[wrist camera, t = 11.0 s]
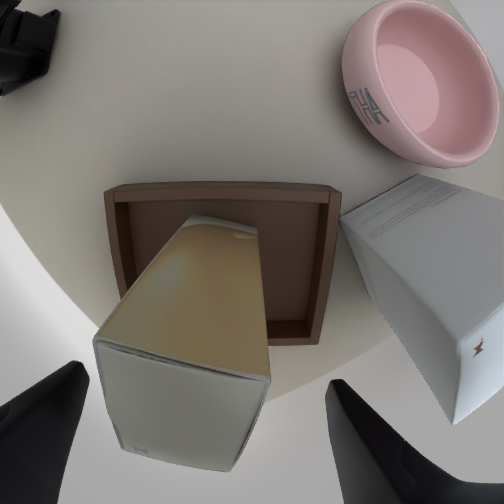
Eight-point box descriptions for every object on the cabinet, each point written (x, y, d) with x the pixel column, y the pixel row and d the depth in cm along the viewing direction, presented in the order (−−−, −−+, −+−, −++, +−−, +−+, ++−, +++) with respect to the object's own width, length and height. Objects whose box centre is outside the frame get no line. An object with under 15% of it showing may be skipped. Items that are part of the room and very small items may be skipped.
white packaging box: (368, 299, 20) (447, 432, 8) (335, 215, 17) (457, 343, 5) (441, 255, 18) (545, 347, 7) (420, 170, 16) (571, 227, 4)
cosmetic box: (239, 309, 19) (231, 477, 8) (178, 296, 19) (120, 454, 7) (260, 221, 17) (281, 383, 5) (190, 207, 16) (84, 339, 5)
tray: (140, 317, 20) (130, 337, 18) (121, 184, 16) (103, 191, 14) (311, 323, 20) (318, 344, 18) (329, 185, 16) (342, 192, 14)
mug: (379, 187, 16) (430, 208, 11) (293, 59, 13) (315, 20, 8) (477, 116, 14) (528, 119, 8) (414, 8, 11) (456, -17, 5)
